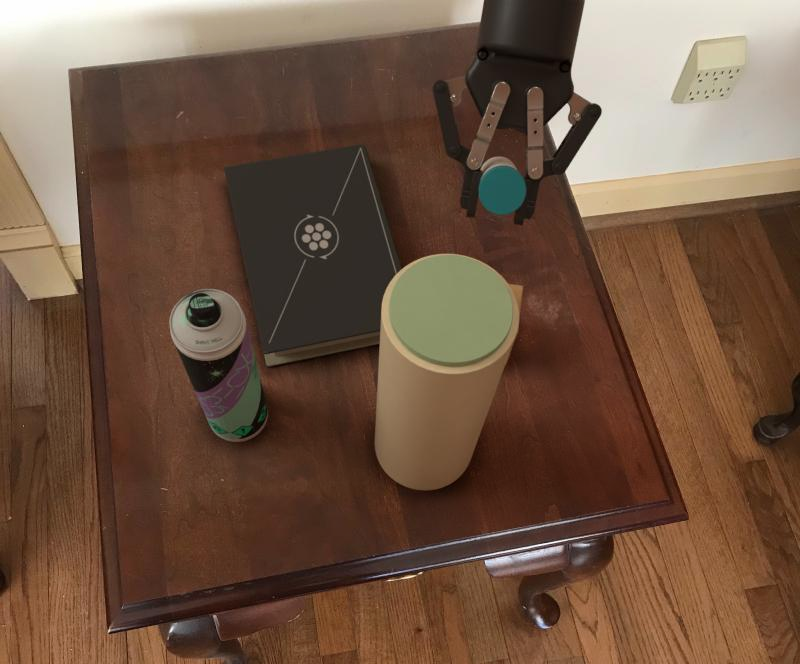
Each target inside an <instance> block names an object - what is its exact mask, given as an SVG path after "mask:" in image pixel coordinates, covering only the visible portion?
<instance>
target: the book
mask: <svg viewBox="0 0 800 664" xmlns="http://www.w3.org/2000/svg"><path fill="white" fill-rule="evenodd" d="M223 171H224V175H225V181H226V186H227V190H228V194H229V200H230V203H231V209H232V213H233V218H234V223H235V227H236V232H237V236H238V242H239V246H240V251H241V255H242V261H243V265H244V269H245V274H246V279H247V284H248V289H249V292H250V298H251V302H252V307H253V311H254V317H255V320H256V325H257V330H258V335H259V340H260V343H261V348H262V354H263V358H264V362H265V366H266V368H273V367H278V366H283V365H287V364H292V363H297V362H302V361H306V360H312V359H317V358H322V357H327V356H331V355H336V354H340V353H341V354H342V353H346V352H350V351H355V350H360V349H366V348H370V347H376V346H380V329H381V310H382V301H383V297H384V294H385V291H386V289H387V287H388V285H389V283H390V282H391V280H392V279H393V278H394V276H395V275H396V274H397V273H398V272H399V271H400V270H402V269H403V266H402V262H401V259H400V256H399V252H398V250H397V246H396V243H395V240H394V236H393V233H392V230H391V227H390V223H389V220H388V216H387V213H386V210H385V207H384V203H383V199H382V197H381V193H380V189H379V186H378V183H377V180H376V177H375V173H374V170H373V166H372V163H371V159H370V157H369V153H368V150H367V147H366V145H365V144H364V143H363V144H361V143H360V144H354V145H348V146H342V147H336V148H330V149H323V150H319V151H312V152H307V153H306V152H305V153H300V154H295V155H289V156H283V157H277V158H271V159H265V160H259V161H252V162H247V163H242V164H235V165H230V166H225V167H224V168H223Z"/></svg>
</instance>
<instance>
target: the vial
mask: <svg viewBox="0 0 800 664" xmlns="http://www.w3.org/2000/svg"><path fill="white" fill-rule="evenodd" d="M481 170H482V178H481V181H480V184H479V195H478V199H479V201H480V203H481V205H482V206H483V208H484V209H486V211H488V212H489V213H491V214H493V215H497V216H507V215H510V214H513V213H515V211H516V210H517V209H518V208H519V207H520V206H521V205H522V204H523V202H524V200H525V197H526V184H525V181H524V179H523V177H524V176H523V175H522V173H520V171H519V170H518V169H517V166H516V165H515V164H514V162H513V161H512V160H511V159H509V158H507V157H505V156H494V157H491V158H488V159H487V160H486V161H485V162H484V163H482V164H481ZM522 176H523V177H522Z"/></svg>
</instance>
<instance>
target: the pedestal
mask: <svg viewBox="0 0 800 664" xmlns="http://www.w3.org/2000/svg"><path fill="white" fill-rule="evenodd" d="M439 255H457V256H463V257H467V258H470V259H473V260H476V261H478V262H480V263H482V264H484V265H485V266H487V267H488V268H490V269H491V270H492V271H494V272H495V273H496V274H497V275H498V276H499V277H500V279H501V280H502V281H503V282H504V284H505V286H506V287H507V289H508V291H509V293H510V296H511V299H512V304H513V319H512V324H511V327H510V330H509V333H508V335H507V337H506V339H505V341H504V342H503V344H502V345H501V346H500V347H499V348H498V349H497V350H496V351H495V352H494V353H493V354H492V355H490V356H488V357H487V358H485V359H483V360H481V361H479V362H476V363H473V364H470V365H465V366H443V365H437V364H434V363H431V362H428V361H426V360H423V359H421V358H419V357H418V356H416V355H414V354H413V353H412V352H411V351H409V350H408V349H407V348H406V347H405V346H404V345H403V344H402V343H401V341H400V340H399V339H398V337H397V335H396V334H395V332H394V330H393V327H392V325H391V321H390V314H389V305H390V297H391V293H392V290H393V287H394V285H395V283H396V282H397V280H398V279H399V277H400V276H401V275H402V274H403V273H404V272H405V271H406V270H407V269H408V268H410V267H411V266H412V265H414V264H415V263H417V262H419V261H421V260H424V259H426V258H430V257H433V256H439ZM508 284H509V283H508V282H507V281H506V279H505V278H504V277H503V276H502V274H500V273H499V272H498V271H497V270H495V269H494V268H492V267H491V266H490V265H488V264H487V263H485V262H483V261H481V260H479V259H477V258H474V257H470V256H467V255H463V254H458V253H437V254H430V255H427V256H423V257H421V258H419V259H416V260H414V261H412V262H410V263H408V264H407V265H405V266H404V267H402V270H400V271H399V272H398V273H397V274H396V275H395V276H394V278H393V279H392V280H391V282H390V283H389V285H388V287H387V289H386V291H385V294H384V297H383V301H382V310H381V329H380V345H379V350H378V351H379V352H378V370H377V387H376V388H377V389H376V405H375V408H376V409H375V428H374V450H375V455H376V458H377V461H378V463H379V465H380V467H381V468H382V470H383V471H384V472H385V473H386V475H387V476H388V477H389V478H391V479H392V480H393V481H394V482H396V483H397V484H399V485H401V486H404V487H406V488H408V489H411V490H417V491H433V490H439V489H442V488H445V487H447V486H449V485H451V484H452V483H455V481H457V480H458V479H459V478H461V476H462V475H463V474H464V473H465V471H466V470H467V468H468V467H469V465H470V463H471V461H472V457H473V455H474V452H475V449H476V446H477V443H478V441H479V438H480V435H481V433H482V429H483V427H484V424H485V422H486V419H487V416H488V414H489V410H490V407H491V405H492V403H493V400H494V397H495V394H496V391H497V389H498V387H499V383H500V381H501V378H502V376H503V372H504V370H505V367H506V365H507V364H506V361H507V359H508V356H509V353H510V351H511V348H512V345H513V342H514V340H515V337H516V334H517V330H518V331H519V329H518V325H519V326H520V320H519V309H518V304H517V301H516V298H515V295H514V293H513V291H512V289H511V288H510V286H509V285H508ZM517 335H518V334H517ZM516 338H517V337H516ZM515 341H516V340H515ZM513 346H514V345H513ZM512 349H513V348H512ZM511 352H512V351H511ZM510 354H511V353H510ZM509 357H510V356H509ZM508 360H509V359H508ZM505 364H506V365H505Z"/></svg>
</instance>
